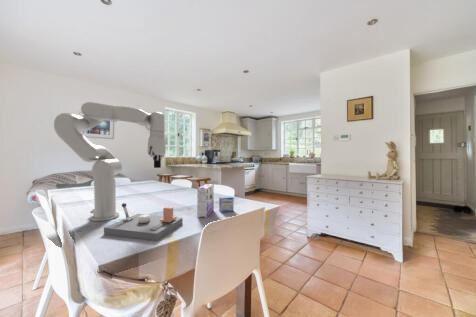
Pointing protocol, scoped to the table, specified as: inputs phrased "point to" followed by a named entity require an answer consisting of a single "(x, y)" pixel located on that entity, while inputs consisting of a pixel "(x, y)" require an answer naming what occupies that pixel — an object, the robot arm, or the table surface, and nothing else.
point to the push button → (143, 218)
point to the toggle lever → (125, 210)
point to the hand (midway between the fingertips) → (157, 167)
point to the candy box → (205, 200)
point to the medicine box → (226, 204)
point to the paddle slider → (167, 215)
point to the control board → (142, 228)
